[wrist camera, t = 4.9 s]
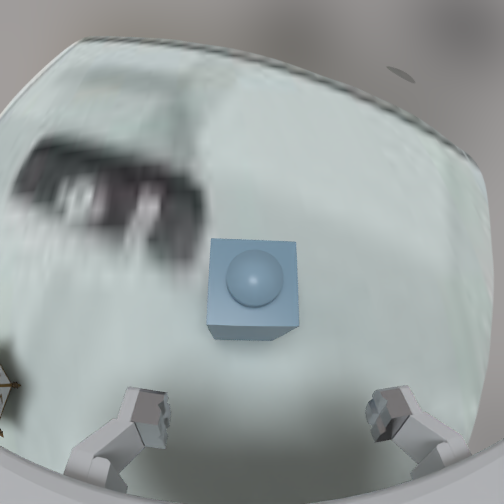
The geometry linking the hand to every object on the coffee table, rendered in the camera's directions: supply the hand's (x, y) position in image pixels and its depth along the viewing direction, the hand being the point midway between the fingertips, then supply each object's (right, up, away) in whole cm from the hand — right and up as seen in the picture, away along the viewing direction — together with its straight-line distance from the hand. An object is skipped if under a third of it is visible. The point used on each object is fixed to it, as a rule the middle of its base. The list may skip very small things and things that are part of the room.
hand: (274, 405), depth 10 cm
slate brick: (-1, +2, +10) cm, 11 cm away
